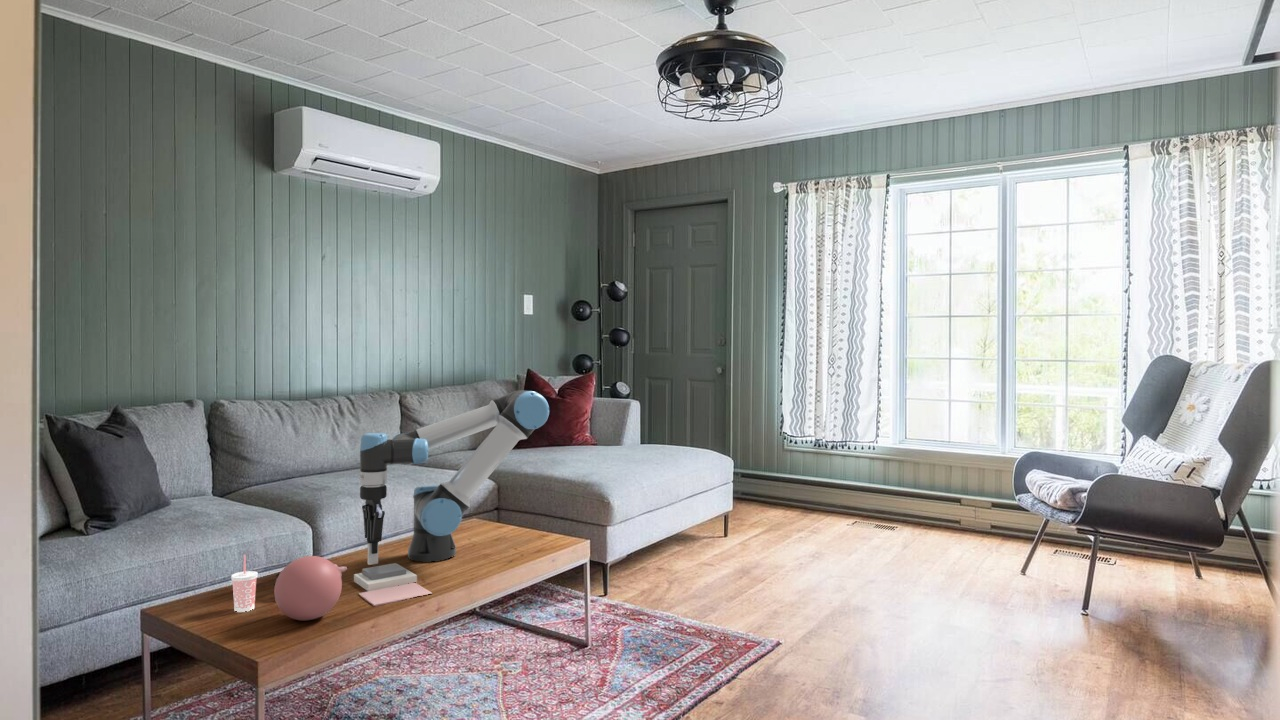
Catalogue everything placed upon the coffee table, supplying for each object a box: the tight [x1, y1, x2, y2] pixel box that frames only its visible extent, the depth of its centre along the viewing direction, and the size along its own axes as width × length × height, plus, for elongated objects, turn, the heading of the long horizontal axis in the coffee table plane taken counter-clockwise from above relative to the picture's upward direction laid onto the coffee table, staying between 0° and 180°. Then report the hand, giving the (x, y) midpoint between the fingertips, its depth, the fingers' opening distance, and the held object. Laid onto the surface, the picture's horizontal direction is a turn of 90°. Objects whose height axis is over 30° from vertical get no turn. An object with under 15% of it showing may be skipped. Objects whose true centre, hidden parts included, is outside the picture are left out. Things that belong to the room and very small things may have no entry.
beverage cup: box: [230, 554, 259, 613], centre depth 194 cm, size 6×6×14 cm
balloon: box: [273, 555, 348, 621], centre depth 190 cm, size 15×20×15 cm
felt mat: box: [358, 582, 433, 607], centre depth 207 cm, size 16×12×1 cm
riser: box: [353, 568, 418, 592], centre depth 218 cm, size 14×12×2 cm
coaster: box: [361, 562, 407, 580], centre depth 219 cm, size 10×8×2 cm
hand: (372, 563), depth 226 cm, fingers closed
